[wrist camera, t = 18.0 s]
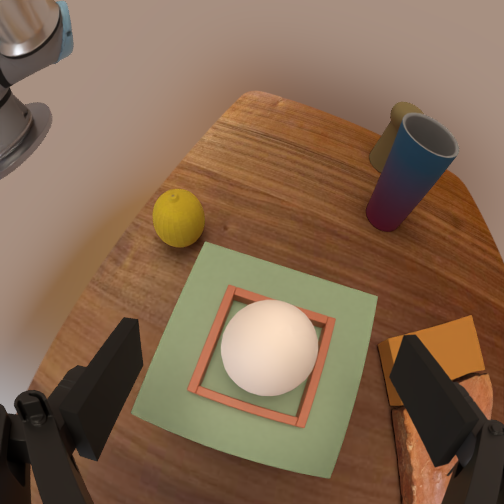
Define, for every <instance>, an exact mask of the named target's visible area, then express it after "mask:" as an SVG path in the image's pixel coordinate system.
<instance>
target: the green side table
mask: <svg viewBox="0 0 504 504" xmlns="http://www.w3.org/2000/svg"><path fill="white" fill-rule="evenodd" d="M377 298H378V297H377V296H375V295H371V294H368V293H365V292H362V291H359V290H356V289H352V288H349V287H346V286H343V285H340V284H337V283H333V282H330V281H327V280H324V279H321V278H318V277H315V276H311V275H308V274H305V273H302V272H299V271H296V270H293V269H289V268H286V267H283V266H280V265H277V264H274V263H271V262H268V261H264V260H261V259H258V258H255V257H252V256H249V255H246V254H243V253H240V252H236V251H233V250H230V249H227V248H224V247H221V246H218V245H215V244H212V243H208V242H205V243H204V245H203V247H202V249H201V251H200V253H199V255H198V258H197V260H196V262H195V264H194V266H193V268H192V270H191V273H190V275H189V277H188V279H187V281H186V284H185V286H184V288H183V290H182V292H181V295H180V297H179V299H178V301H177V304H176V306H175V308H174V310H173V313H172V315H171V317H170V320H169V322H168V324H167V326H166V329H165V331H164V333H163V336H162V338H161V340H160V343H159V345H158V347H157V350H156V352H155V355H154V357H153V359H152V362H151V364H150V367H149V369H148V371H147V374H146V376H145V379H144V381H143V384H142V386H141V389H140V391H139V394H138V396H137V399H136V401H135V404H134V406H133V409H132V411H131V414H133V415H135V416H137V417H139V418H141V419H143V420H145V421H147V422H150V423H152V424H154V425H156V426H158V427H161V428H163V429H165V430H167V431H170V432H172V433H175V434H177V435H179V436H182V437H184V438H187V439H189V440H192V441H194V442H197V443H200V444H202V445H205V446H208V447H211V448H214V449H216V450H219V451H222V452H225V453H228V454H231V455H234V456H238V457H241V458H244V459H247V460H251V461H254V462H258V463H261V464H265V465H269V466H273V467H277V468H281V469H285V470H289V471H293V472H298V473H303V474H307V475H312V476H318V477H323V478H330V477H331V474H332V472H333V469H334V466H335V463H336V460H337V457H338V455H339V452H340V449H341V446H342V443H343V439H344V436H345V433H346V430H347V427H348V423H349V420H350V417H351V413H352V410H353V406H354V403H355V399H356V395H357V391H358V388H359V384H360V380H361V376H362V372H363V367H364V363H365V359H366V354H367V350H368V345H369V340H370V336H371V331H372V326H373V320H374V315H375V309H376V304H377ZM263 300H279V301H283V302H286V303H289V304H291V305H293V306H295V307H297V308H298V309H299V310H301V311H302V312H303V313H305V315H306V316H307V317H308V319H309V320H310V321H311V322H312V324H313V326H314V328H315V330H316V334H317V338H318V354H317V359H316V362H315V365H314V367H313V370H312V371H311V373H310V374H309V376H308V377H307V378H306V380H305V381H303V382H302V383H301V384H300V385H299V386H297V387H296V388H295V389H293V390H291V391H289V392H286V393H284V394H281V395H277V396H260V395H256V394H253V393H249V392H247V391H246V390H244V389H242V388H241V387H239V386H238V385H237V384H236V383H235V382H234V381H233V380H232V379H231V378H230V377H229V375H228V373H227V372H226V370H225V368H224V364H223V360H222V356H221V342H222V337H223V333H224V331H225V329H226V327H227V325H228V323H229V322H230V320H231V319H232V318H233V317H234V316H235V314H236V313H237V312H238V311H240V310H241V309H243V308H244V307H246V306H247V305H249V304H252V303H254V302H258V301H263Z"/></svg>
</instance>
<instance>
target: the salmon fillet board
mask: <svg viewBox="0 0 504 504" xmlns="http://www.w3.org/2000/svg"><path fill="white" fill-rule="evenodd" d="M415 334H416V335H417V337H418V338H419V339H420V340H421V342H422V343H423V344H424V345H425V347H426V348H427V349H428V350H429V352H430V353H431V354H432V355H433V357H434V358H435V359H436V361H437V362H438V363H439V364H440V366H441V367H442V368H443V370H444V371H445V372H446V374H447V375H448V376H449V378H450V379H451V380H453V379H454V380H453V382H457V383H459V384H460V385H462V386H463V387H464V388H465V389H466V390H467V392H468V393H469V394H470V395H469V396H471V397H472V398H473V400H474V401H475V402H476V404H477V405H478V407H479V408H480V409H481V411H482V412H483V413H484V415H485V416H486V418H487V419H488V420H491V411H492V407H493V391H492V385H491V381H490V377H489V374H488V373H484V374H479V373H472V372H475V371H480V370H485V368H484V363H483V358H482V354H481V350H480V345H479V341H478V337H477V334H476V330H475V326H474V323H473V319H472V316H471V315H470V316H467V317H464V318H461V319H458V320H455V321H451V322H448V323H445V324H441V325H438V326H434V327H431V328H427V329H424V330H420V331H416V332H413V333H409V334H405V335H415ZM402 338H403V335H401V336H397V337H393V338H389V339H387V340H385V341H383V342H381V343H379V344H378V348H379V353H380V357H381V362H382V367H383V371H384V376H385V381H386V387H387V392H388V397H389V403H390V406H400V407H397V408H394V409H393V411H392V416H393V426H394V433H395V442H396V447H397V455H398V466H399V474H400V485H401V495H402V497H403V501H402V504H441V503H442V500H443V497H444V495H445V492H446V489H447V487H448V484H449V481H450V478H451V475H452V473H451V474H450V475H449V476H447V474H448V473H449V471H450V470H451V469H452V468H453V466H454V465H455V464H456V462H457V461H458V458H457V456H456V455H455V456H454V457H453V459H452V460H451V461H450V463H449V464H446V465H443V466H439V467H434V465H433V463H432V461H431V459H430V456H429V454H428V452H427V450H426V448H425V446H424V444H423V442H422V440H421V438H420V436H419V434H418V432H417V430H416V428H415V426H414V424H413V422H412V420H411V418H410V416H409V414H408V412H407V410H406V408H405V406H404V405H403V403H402V401H401V399H400V397H399V395H398V393H397V391H396V389H395V387H394V386H393V384H392V382H391V380H390V378H389V376H390V373H391V370H392V368H393V365H394V362H395V359H396V356H397V353H398V351H399V348H400V345H401V341H402ZM402 405H403V406H402Z"/></svg>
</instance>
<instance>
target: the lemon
mask: <svg viewBox="0 0 504 504" xmlns="http://www.w3.org/2000/svg"><path fill="white" fill-rule="evenodd" d="M204 224H205V216H204V211H203V208H202V205H201V203H200V202H199V200H198V199H197V198H196V196H194V195H193V194H192V193H191V192H189V191H187V190H184V189H172V190H169V191H167V192H165V193H163V194H162V195H161V196H160V197H159V198H158V199H157V201H156V203H155V205H154V209H153V225H154V228H155V230H156V233H157V234H158V236H159V237H160V238H161V239H162V241H164V242H165V243H167V244H168V245H170V246H173V247H186V246H189V245H191V244H193V243H194V242H195V241H196V240H197V239H198V238H199V237H200V235H201V234H202V232H203V229H204Z"/></svg>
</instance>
